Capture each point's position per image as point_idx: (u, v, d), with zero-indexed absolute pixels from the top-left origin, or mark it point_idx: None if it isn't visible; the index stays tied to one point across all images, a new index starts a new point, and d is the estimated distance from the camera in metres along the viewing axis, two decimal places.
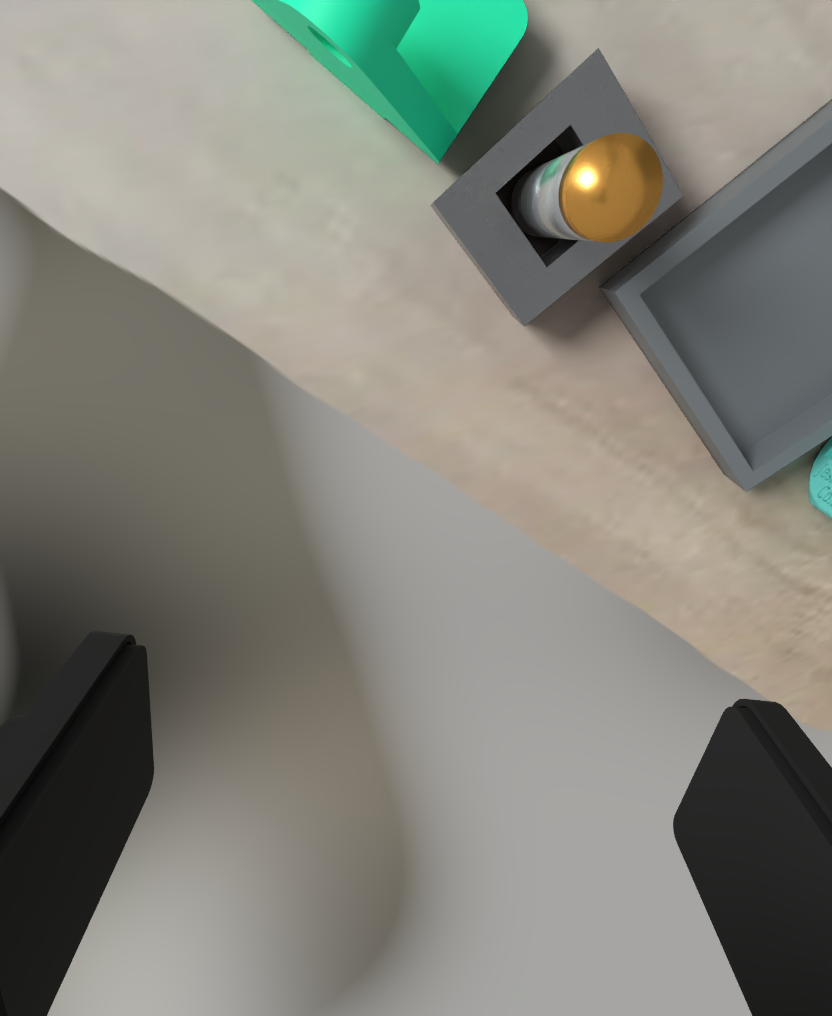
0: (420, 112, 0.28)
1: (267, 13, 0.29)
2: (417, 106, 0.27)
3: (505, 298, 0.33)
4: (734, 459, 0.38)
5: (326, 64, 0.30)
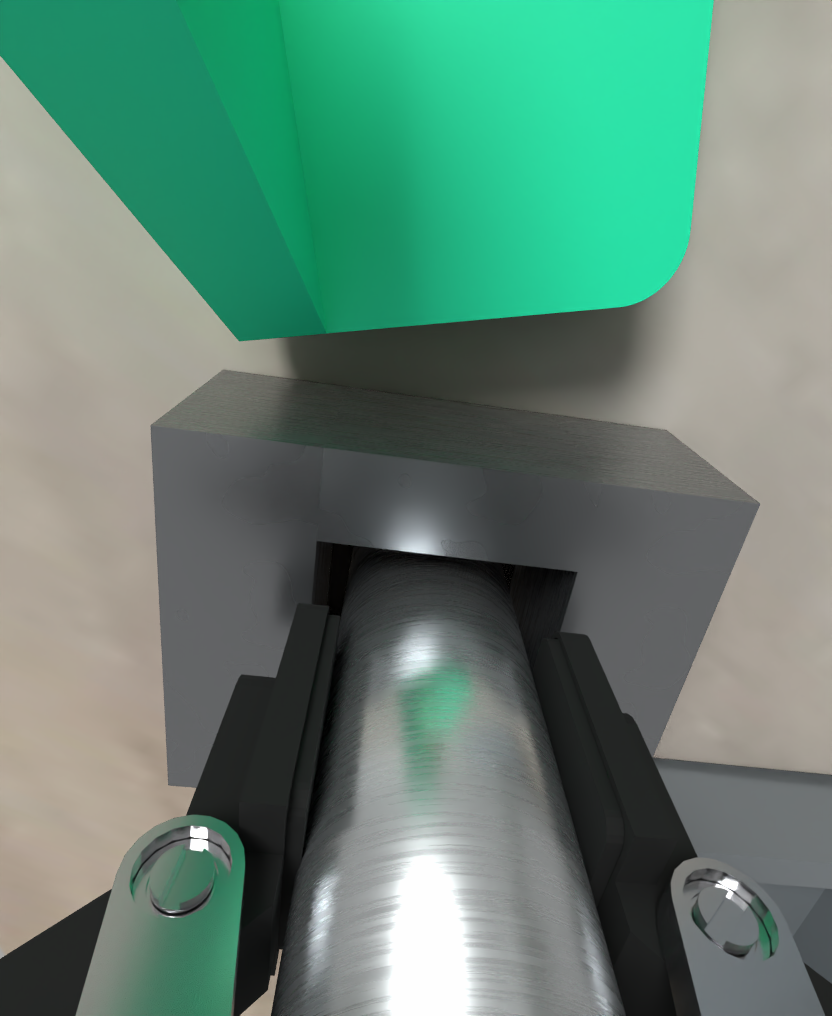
0: (203, 214, 0.07)
1: None
2: (194, 192, 0.06)
3: (168, 720, 0.12)
4: None
5: None
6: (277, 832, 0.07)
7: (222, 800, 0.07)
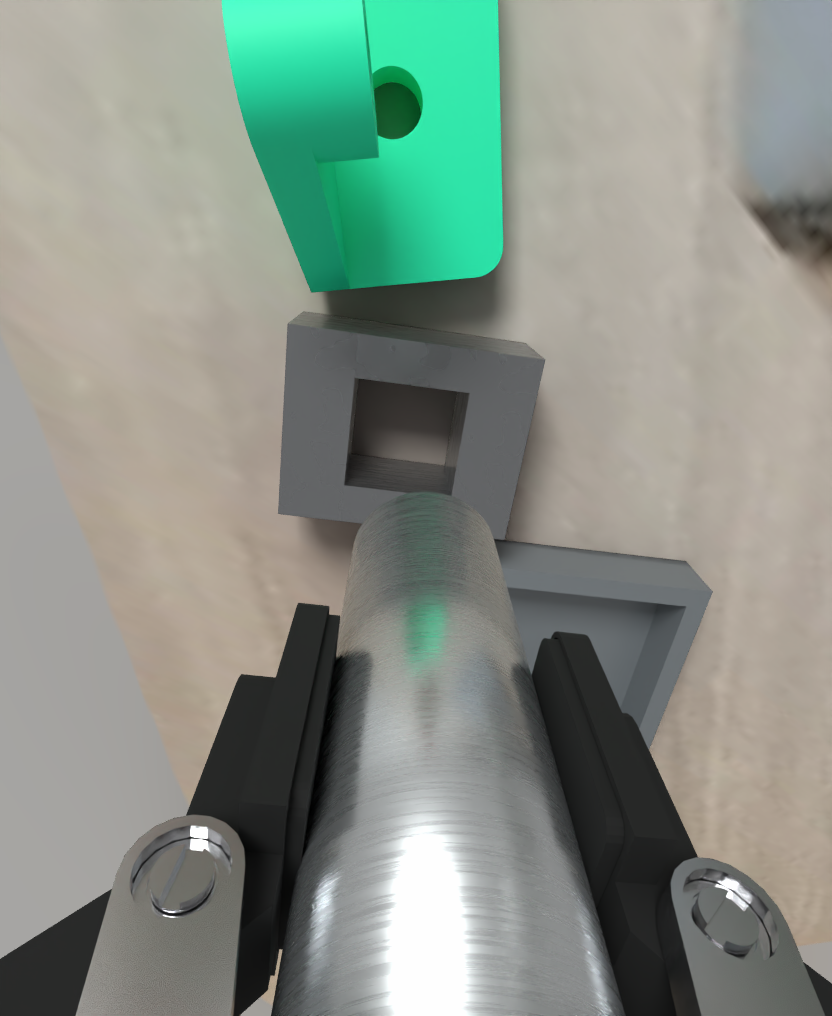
0: (313, 240, 0.20)
1: None
2: (312, 233, 0.20)
3: (281, 474, 0.25)
4: None
5: None
6: (277, 832, 0.07)
7: (222, 800, 0.07)
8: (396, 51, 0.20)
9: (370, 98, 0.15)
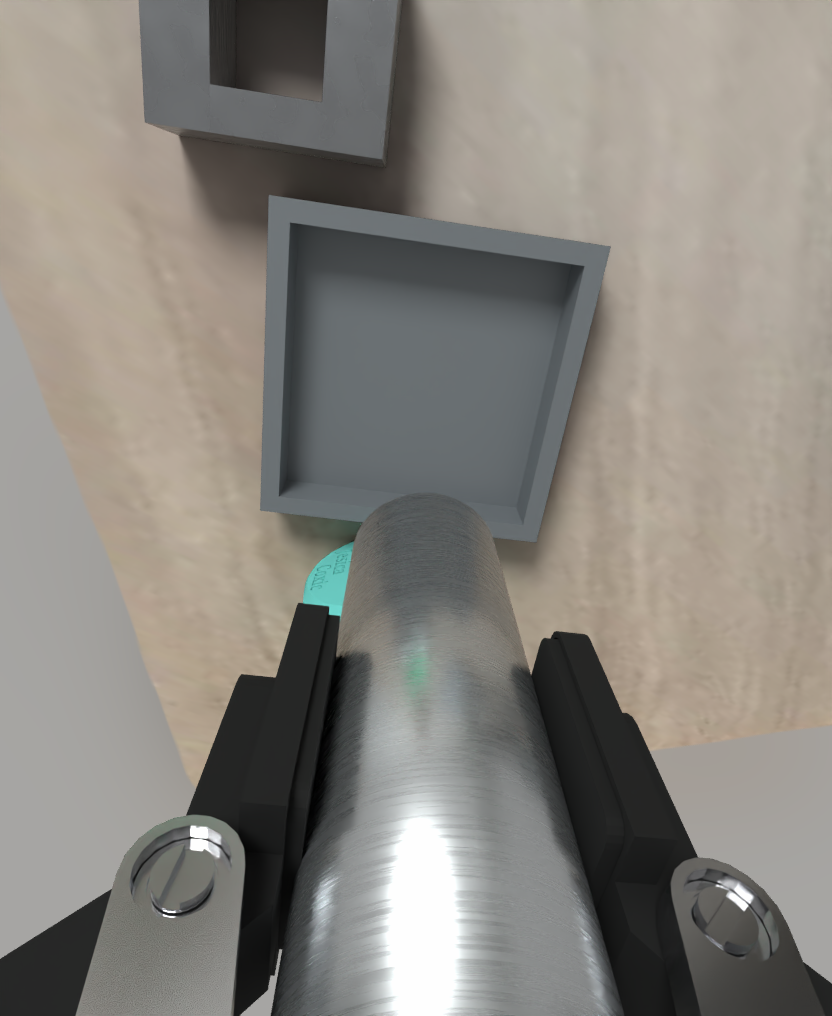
0: None
1: None
2: None
3: (143, 68, 0.24)
4: (269, 470, 0.33)
5: None
6: (277, 832, 0.07)
7: (222, 800, 0.07)
8: None
9: None
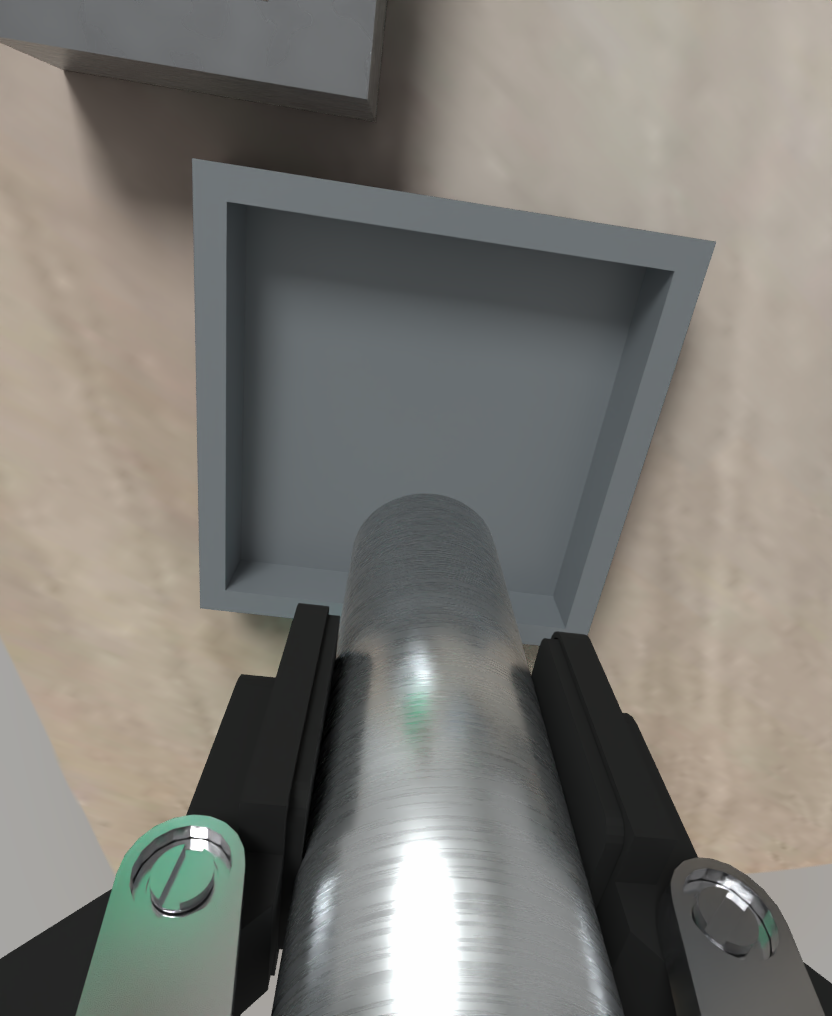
0: None
1: None
2: None
3: None
4: (211, 556, 0.23)
5: None
6: (277, 832, 0.07)
7: (222, 800, 0.07)
8: None
9: None
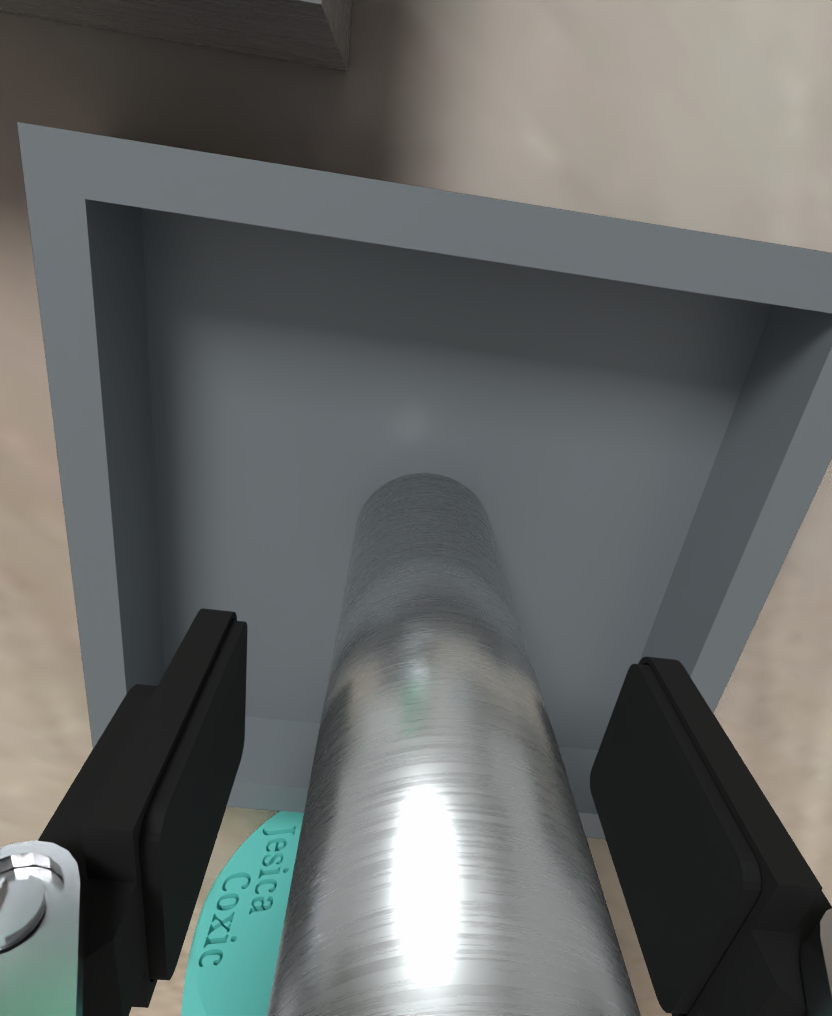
0: None
1: None
2: None
3: None
4: None
5: None
6: (129, 859, 0.06)
7: (82, 822, 0.07)
8: None
9: None
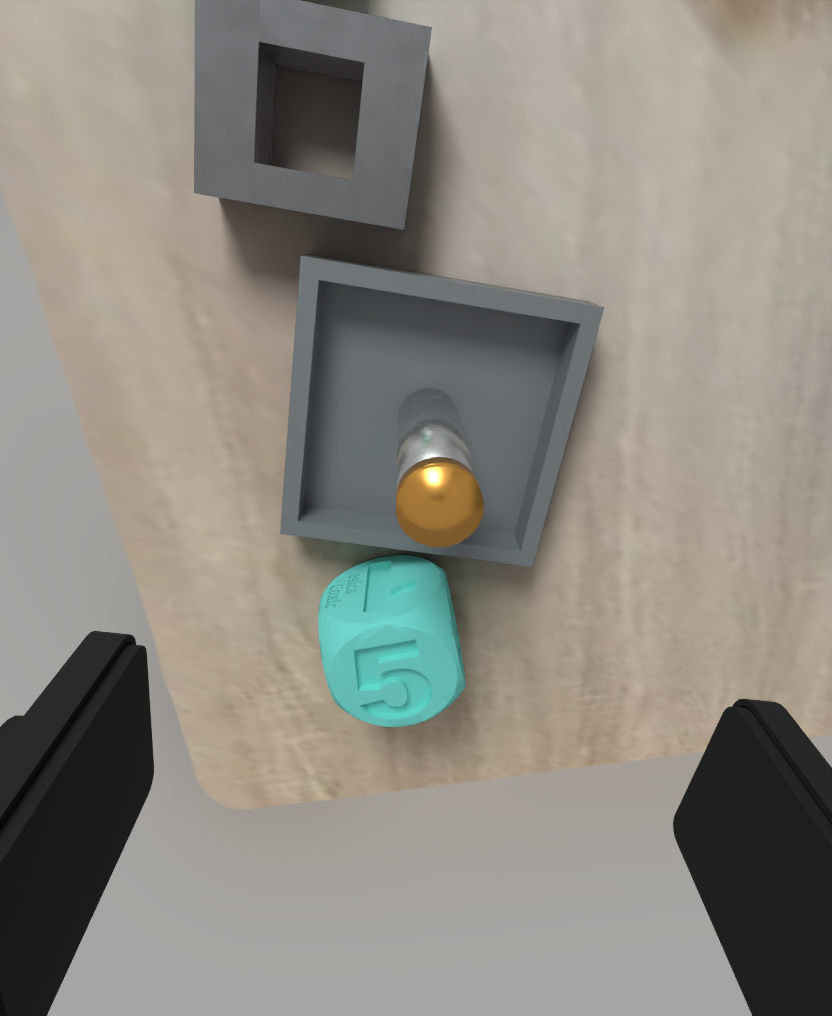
0: None
1: None
2: None
3: (196, 147, 0.27)
4: (290, 497, 0.36)
5: None
6: None
7: None
8: None
9: None
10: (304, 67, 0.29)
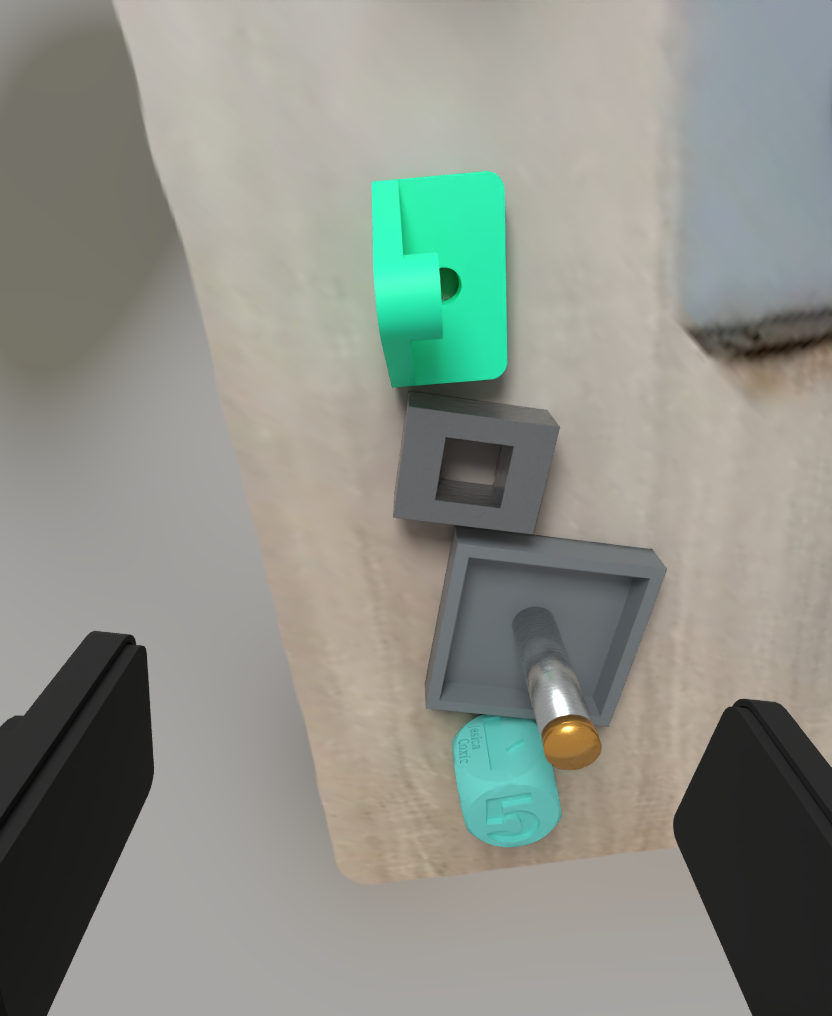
0: (400, 367, 0.36)
1: None
2: (400, 365, 0.36)
3: (397, 493, 0.41)
4: (435, 686, 0.50)
5: None
6: None
7: None
8: (447, 260, 0.36)
9: (442, 322, 0.31)
10: None
